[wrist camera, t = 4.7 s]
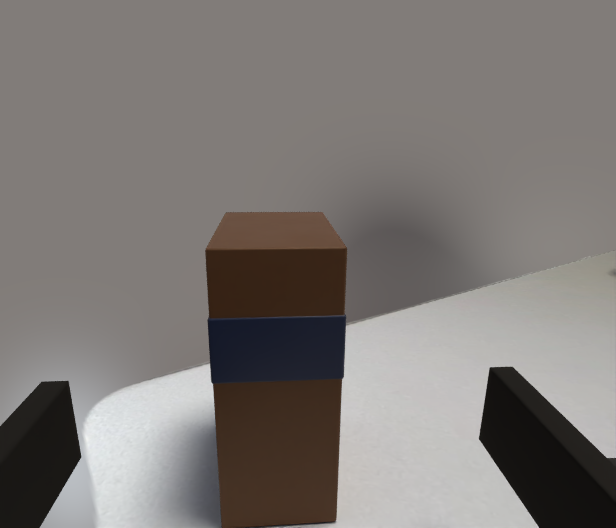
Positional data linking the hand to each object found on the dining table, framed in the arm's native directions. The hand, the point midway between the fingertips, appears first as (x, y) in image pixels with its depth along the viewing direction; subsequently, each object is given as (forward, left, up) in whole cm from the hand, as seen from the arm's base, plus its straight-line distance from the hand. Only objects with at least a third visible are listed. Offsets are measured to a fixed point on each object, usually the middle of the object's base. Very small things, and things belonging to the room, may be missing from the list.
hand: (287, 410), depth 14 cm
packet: (+2, +4, -6) cm, 7 cm away
